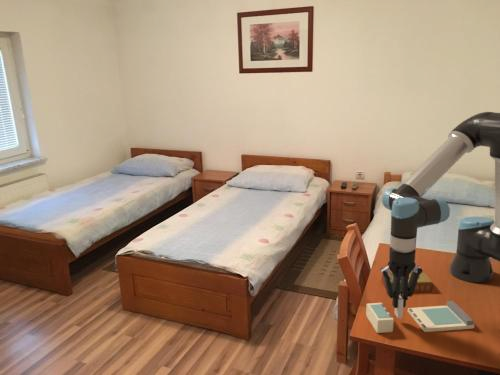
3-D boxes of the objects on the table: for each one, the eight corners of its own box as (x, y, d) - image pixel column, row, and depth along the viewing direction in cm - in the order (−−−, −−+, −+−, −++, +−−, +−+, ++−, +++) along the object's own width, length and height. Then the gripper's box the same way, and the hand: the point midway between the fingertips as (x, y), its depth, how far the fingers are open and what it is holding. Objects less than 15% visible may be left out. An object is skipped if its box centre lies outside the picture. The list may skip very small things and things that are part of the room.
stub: (380, 314, 143) (381, 302, 141) (392, 331, 133) (393, 318, 132) (366, 315, 142) (366, 303, 141) (377, 333, 133) (377, 320, 131)
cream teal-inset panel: (453, 308, 145) (454, 300, 145) (473, 328, 134) (474, 320, 133) (407, 311, 144) (408, 303, 144) (424, 332, 133) (425, 324, 132)
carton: (431, 292, 157) (432, 281, 156) (387, 292, 157) (388, 282, 156) (423, 281, 165) (423, 271, 164) (381, 282, 165) (381, 271, 164)
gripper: (417, 241, 135) (412, 308, 142) (377, 244, 135) (374, 310, 141) (429, 251, 128) (423, 320, 134) (386, 254, 127) (382, 323, 134)
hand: (398, 315), depth 138 cm, fingers closed
